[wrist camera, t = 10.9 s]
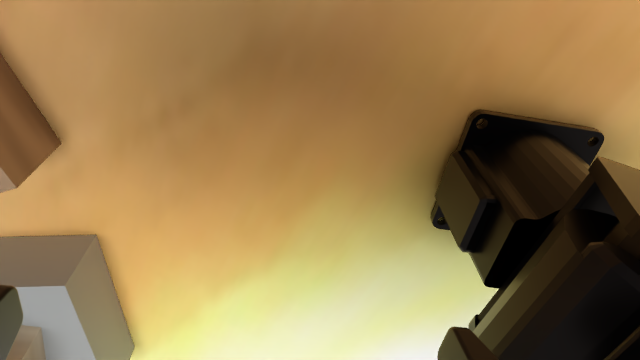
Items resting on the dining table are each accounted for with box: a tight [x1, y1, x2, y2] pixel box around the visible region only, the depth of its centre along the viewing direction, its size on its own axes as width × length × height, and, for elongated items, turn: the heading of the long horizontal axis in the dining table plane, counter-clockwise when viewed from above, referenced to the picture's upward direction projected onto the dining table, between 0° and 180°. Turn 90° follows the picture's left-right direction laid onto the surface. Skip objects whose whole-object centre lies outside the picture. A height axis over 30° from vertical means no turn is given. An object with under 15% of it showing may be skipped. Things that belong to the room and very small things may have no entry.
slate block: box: [0, 235, 135, 360], centre depth 24 cm, size 9×9×4 cm
